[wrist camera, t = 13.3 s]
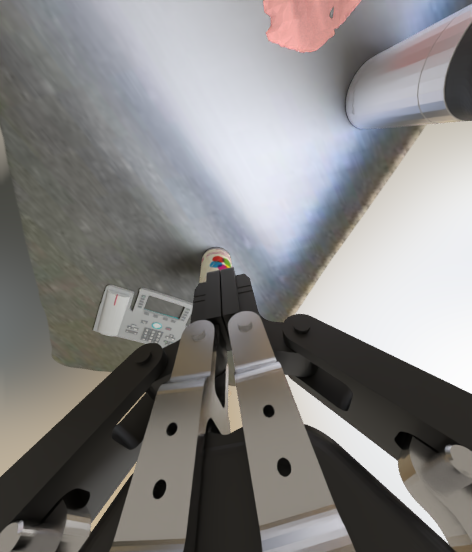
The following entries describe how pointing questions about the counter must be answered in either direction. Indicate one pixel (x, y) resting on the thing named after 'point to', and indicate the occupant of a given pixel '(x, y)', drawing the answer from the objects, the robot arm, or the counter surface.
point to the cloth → (305, 21)
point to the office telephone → (139, 317)
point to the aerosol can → (214, 261)
